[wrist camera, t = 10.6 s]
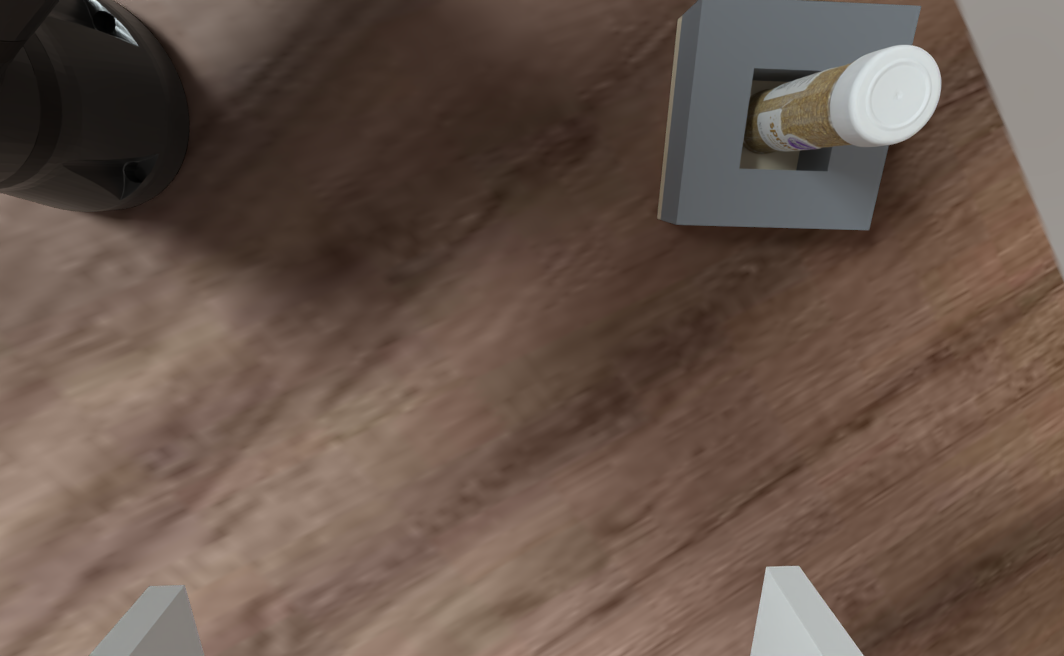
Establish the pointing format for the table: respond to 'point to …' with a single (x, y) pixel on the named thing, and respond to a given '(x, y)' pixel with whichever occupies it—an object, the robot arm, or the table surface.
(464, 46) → the table surface
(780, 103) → the sprinkles bottle
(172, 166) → the robot arm
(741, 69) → the socket block
